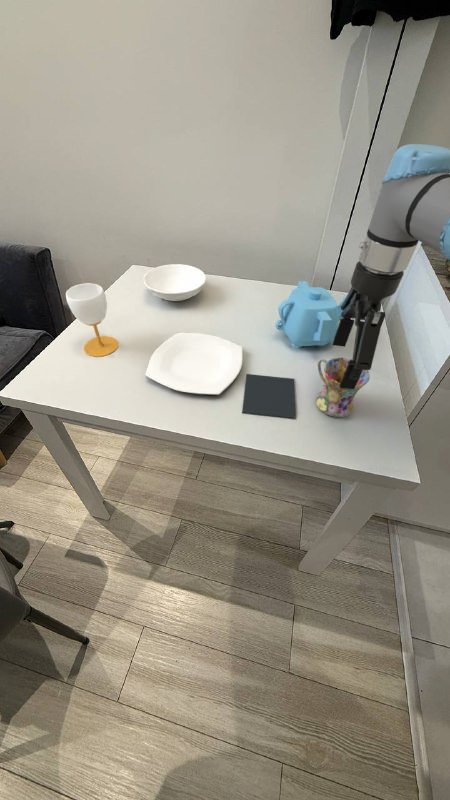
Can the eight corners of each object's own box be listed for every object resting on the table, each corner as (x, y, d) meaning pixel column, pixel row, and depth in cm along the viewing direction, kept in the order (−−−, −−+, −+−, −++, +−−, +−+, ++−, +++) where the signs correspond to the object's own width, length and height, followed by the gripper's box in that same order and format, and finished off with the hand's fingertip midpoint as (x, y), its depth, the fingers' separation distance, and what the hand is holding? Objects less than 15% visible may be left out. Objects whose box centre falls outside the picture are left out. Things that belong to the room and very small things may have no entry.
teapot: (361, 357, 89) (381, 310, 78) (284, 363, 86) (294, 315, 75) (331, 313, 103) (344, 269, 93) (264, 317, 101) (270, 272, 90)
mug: (362, 410, 75) (379, 376, 67) (334, 427, 71) (348, 392, 64) (324, 380, 82) (336, 345, 74) (297, 393, 78) (306, 359, 70)
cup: (76, 351, 87) (55, 295, 75) (98, 333, 93) (82, 279, 81) (103, 360, 84) (86, 305, 73) (125, 341, 90) (112, 287, 79)
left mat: (295, 419, 73) (296, 418, 72) (242, 413, 73) (242, 412, 73) (294, 379, 82) (294, 378, 81) (246, 375, 82) (246, 373, 82)
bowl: (210, 284, 115) (210, 266, 110) (200, 314, 101) (200, 295, 96) (155, 279, 116) (152, 261, 111) (138, 309, 102) (134, 290, 97)
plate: (224, 408, 74) (225, 402, 73) (134, 384, 79) (132, 378, 77) (251, 349, 89) (252, 343, 88) (174, 332, 94) (173, 326, 93)
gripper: (347, 234, 62) (319, 328, 77) (371, 303, 45) (330, 406, 60) (387, 237, 61) (352, 331, 77) (427, 308, 44) (371, 410, 60)
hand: (342, 364), depth 69 cm, fingers open, 13 cm apart
